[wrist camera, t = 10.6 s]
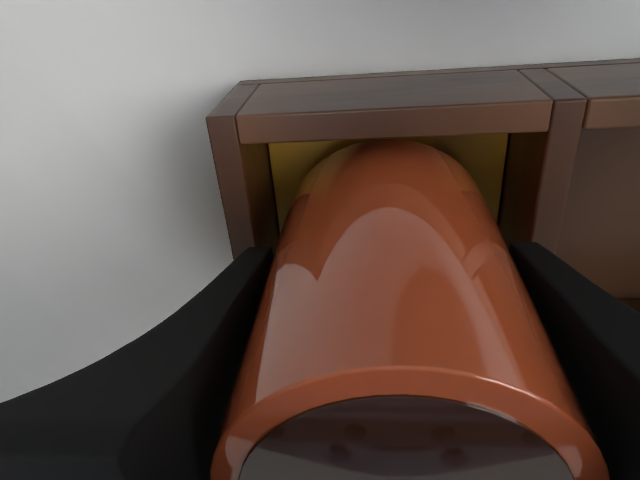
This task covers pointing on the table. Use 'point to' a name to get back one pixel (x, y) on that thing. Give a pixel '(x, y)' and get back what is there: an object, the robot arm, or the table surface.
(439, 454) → the cup
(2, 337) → the table surface
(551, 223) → the box
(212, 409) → the robot arm
